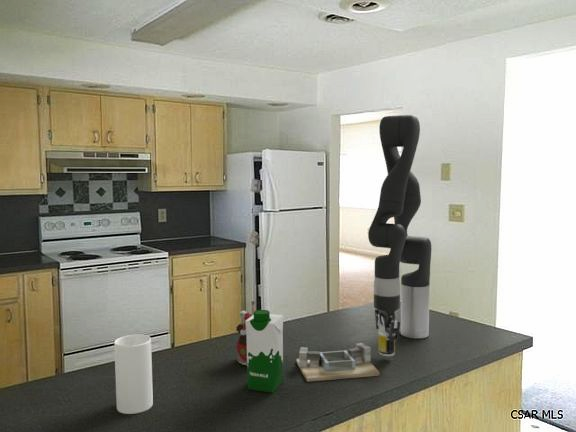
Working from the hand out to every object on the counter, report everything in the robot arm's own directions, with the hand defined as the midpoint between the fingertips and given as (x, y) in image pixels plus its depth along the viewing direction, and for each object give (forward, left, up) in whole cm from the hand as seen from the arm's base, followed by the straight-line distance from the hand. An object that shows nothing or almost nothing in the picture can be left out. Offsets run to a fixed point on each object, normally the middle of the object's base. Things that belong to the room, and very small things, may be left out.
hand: (386, 348), depth 147 cm
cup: (+15, -69, -3) cm, 71 cm away
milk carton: (+10, -37, -3) cm, 39 cm away
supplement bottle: (0, 0, -2) cm, 2 cm away
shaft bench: (+3, -16, -3) cm, 17 cm away
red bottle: (-7, -38, -4) cm, 39 cm away
